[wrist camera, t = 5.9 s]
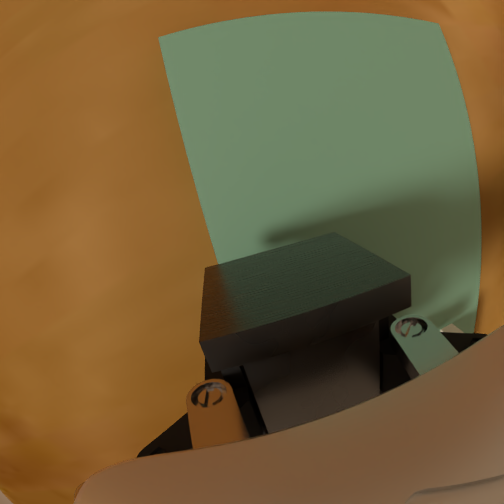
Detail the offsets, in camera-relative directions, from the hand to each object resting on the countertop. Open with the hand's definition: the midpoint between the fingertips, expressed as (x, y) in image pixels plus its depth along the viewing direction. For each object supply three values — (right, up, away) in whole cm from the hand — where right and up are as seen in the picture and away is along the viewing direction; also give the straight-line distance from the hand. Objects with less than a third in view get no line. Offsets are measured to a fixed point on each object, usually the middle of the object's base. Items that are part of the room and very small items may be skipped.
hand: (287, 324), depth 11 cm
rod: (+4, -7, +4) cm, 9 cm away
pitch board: (+5, +2, +3) cm, 6 cm away
